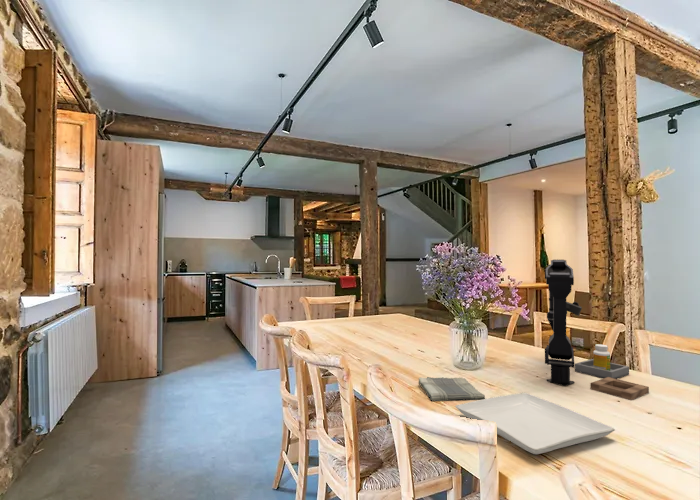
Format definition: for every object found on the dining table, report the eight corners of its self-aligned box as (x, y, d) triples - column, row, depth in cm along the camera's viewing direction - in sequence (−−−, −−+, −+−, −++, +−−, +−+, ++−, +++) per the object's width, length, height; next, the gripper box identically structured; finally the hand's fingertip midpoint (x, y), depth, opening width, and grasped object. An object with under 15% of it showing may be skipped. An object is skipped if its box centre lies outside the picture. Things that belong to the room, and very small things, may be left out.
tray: (611, 380, 137) (611, 372, 137) (574, 371, 148) (574, 363, 149) (629, 374, 144) (629, 366, 144) (592, 366, 155) (592, 358, 155)
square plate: (535, 466, 82) (535, 448, 82) (453, 417, 107) (453, 403, 107) (617, 442, 93) (616, 425, 93) (524, 402, 118) (524, 390, 118)
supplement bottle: (610, 374, 142) (609, 347, 143) (592, 371, 146) (592, 345, 146) (610, 370, 147) (610, 345, 147) (594, 368, 150) (593, 343, 150)
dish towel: (487, 401, 119) (487, 391, 119) (430, 403, 118) (430, 392, 118) (465, 382, 138) (465, 373, 138) (416, 383, 137) (416, 374, 137)
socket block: (631, 400, 119) (631, 393, 119) (590, 388, 129) (590, 382, 129) (648, 392, 125) (648, 386, 125) (608, 382, 135) (608, 377, 135)
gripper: (579, 298, 143) (580, 340, 143) (580, 294, 159) (581, 332, 159) (546, 297, 149) (546, 337, 149) (550, 293, 165) (550, 329, 165)
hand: (557, 334), depth 155 cm, fingers open, 9 cm apart
